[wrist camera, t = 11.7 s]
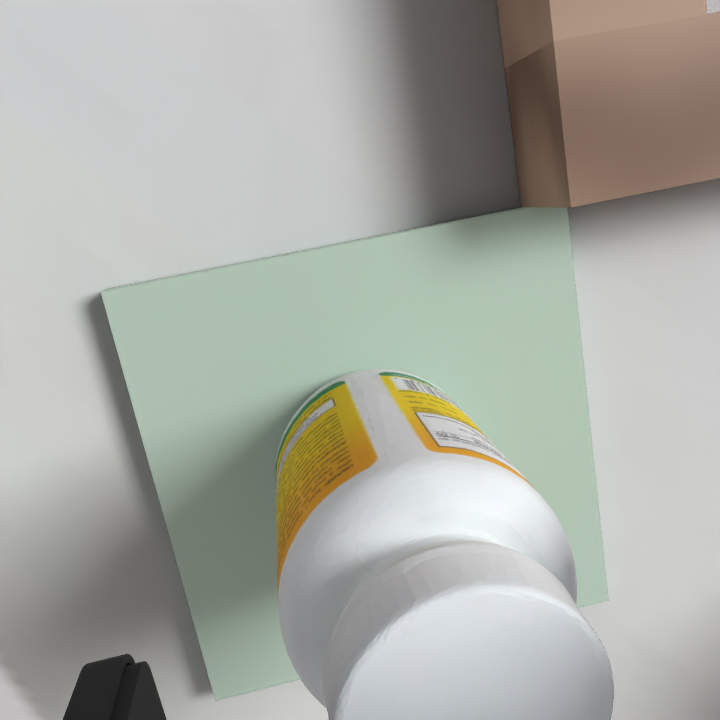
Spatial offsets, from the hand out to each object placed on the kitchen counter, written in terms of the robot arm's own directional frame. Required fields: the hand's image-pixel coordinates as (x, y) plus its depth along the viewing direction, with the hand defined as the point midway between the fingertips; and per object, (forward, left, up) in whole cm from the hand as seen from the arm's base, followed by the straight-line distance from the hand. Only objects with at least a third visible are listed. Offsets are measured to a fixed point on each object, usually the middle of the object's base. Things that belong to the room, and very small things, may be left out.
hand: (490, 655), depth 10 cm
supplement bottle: (+1, 0, -9) cm, 9 cm away
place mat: (+1, 0, -10) cm, 10 cm away
